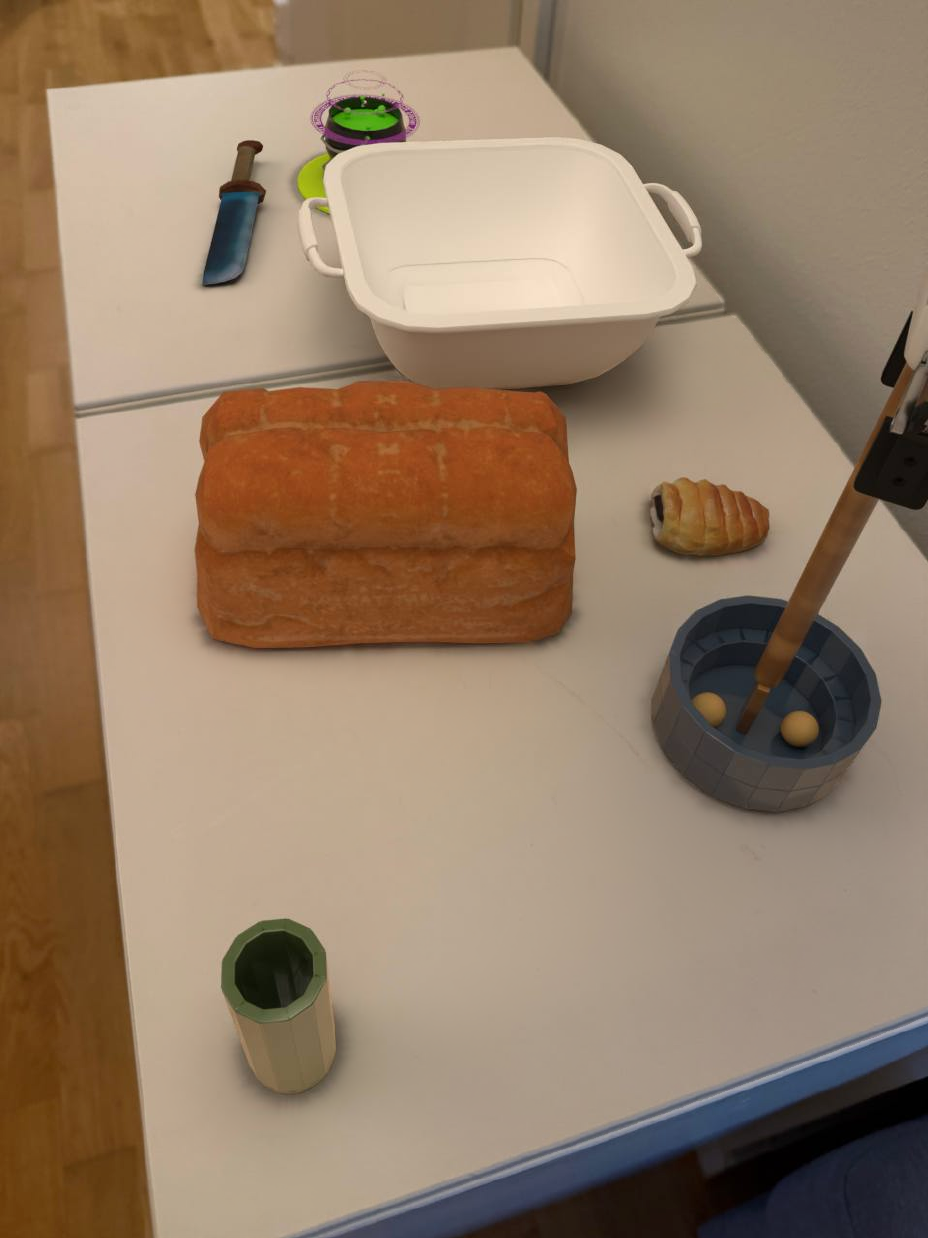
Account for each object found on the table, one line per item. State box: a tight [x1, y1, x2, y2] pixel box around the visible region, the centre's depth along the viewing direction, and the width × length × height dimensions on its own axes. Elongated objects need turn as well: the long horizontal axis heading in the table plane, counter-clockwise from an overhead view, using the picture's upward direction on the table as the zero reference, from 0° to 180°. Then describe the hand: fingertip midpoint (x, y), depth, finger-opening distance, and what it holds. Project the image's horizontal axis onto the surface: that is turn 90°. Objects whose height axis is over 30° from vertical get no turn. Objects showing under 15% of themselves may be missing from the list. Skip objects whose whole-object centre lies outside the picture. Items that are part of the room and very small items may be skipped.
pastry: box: [649, 476, 770, 557], centre depth 79 cm, size 9×7×4 cm
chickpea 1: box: [692, 693, 726, 727], centre depth 67 cm, size 2×2×2 cm
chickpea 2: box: [781, 711, 819, 747], centre depth 67 cm, size 2×2×2 cm
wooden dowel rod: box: [736, 362, 928, 734], centre depth 57 cm, size 2×2×30 cm
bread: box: [194, 380, 578, 649], centre depth 69 cm, size 14×27×15 cm, turn 94°
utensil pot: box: [220, 918, 337, 1095], centre depth 49 cm, size 5×5×12 cm
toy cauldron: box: [296, 69, 421, 215], centre depth 106 cm, size 15×15×11 cm
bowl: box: [651, 595, 882, 812], centre depth 66 cm, size 13×13×6 cm
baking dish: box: [297, 136, 703, 390], centre depth 89 cm, size 34×28×13 cm
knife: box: [202, 139, 267, 286], centre depth 103 cm, size 24×3×5 cm
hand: (899, 439), depth 49 cm, fingers open, 8 cm apart
